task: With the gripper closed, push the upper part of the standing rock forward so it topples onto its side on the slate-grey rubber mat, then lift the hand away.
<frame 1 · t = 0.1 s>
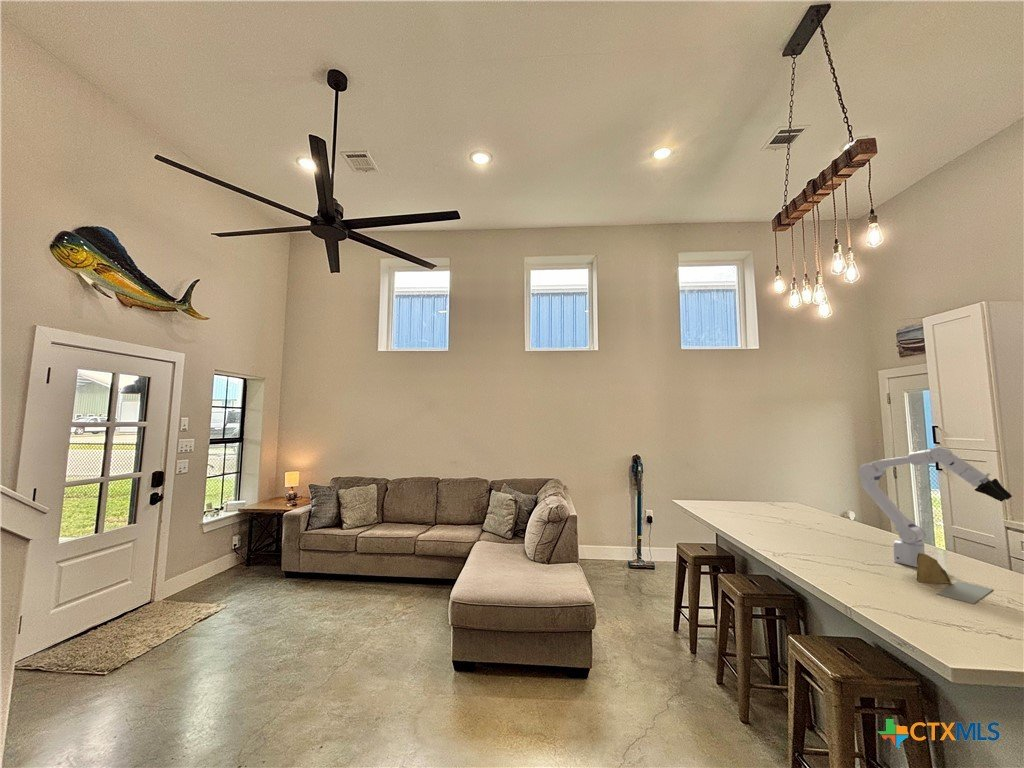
hand: (1007, 499, 158), 32 cm above the table, tool tilted 50°, fingers open, 7 cm apart
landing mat: (965, 592, 151), on the table
rock: (933, 582, 160), on the table
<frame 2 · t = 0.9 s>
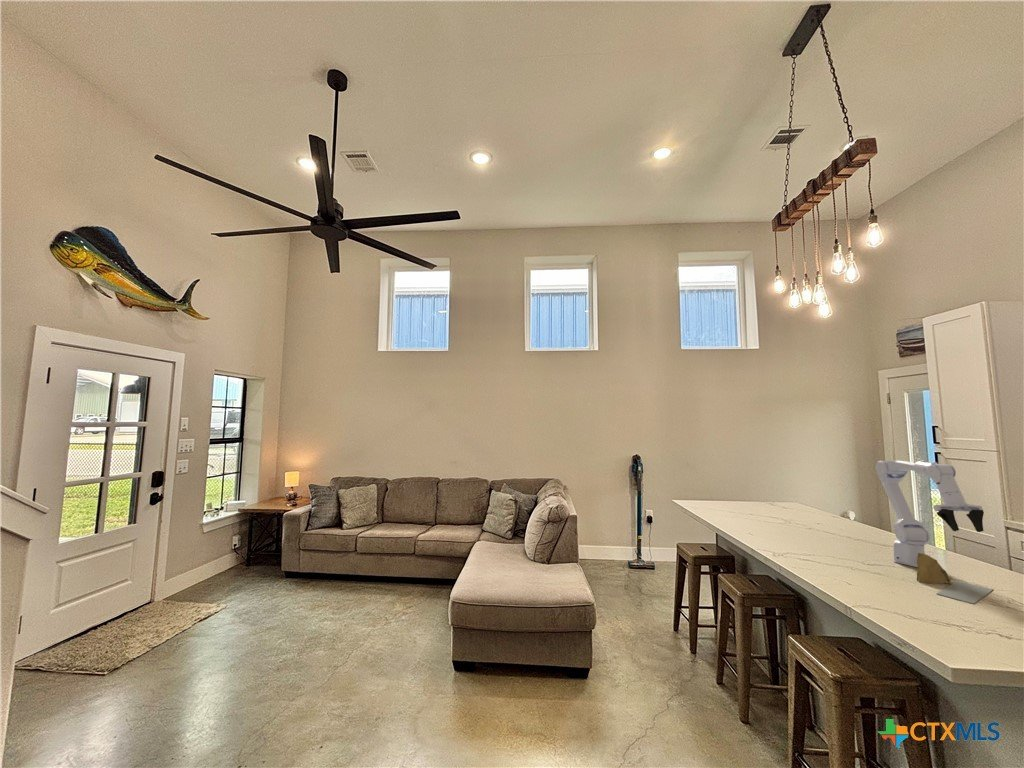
hand: (968, 531, 155), 21 cm above the table, tool tilted 25°, fingers open, 7 cm apart
nothing on the table moved.
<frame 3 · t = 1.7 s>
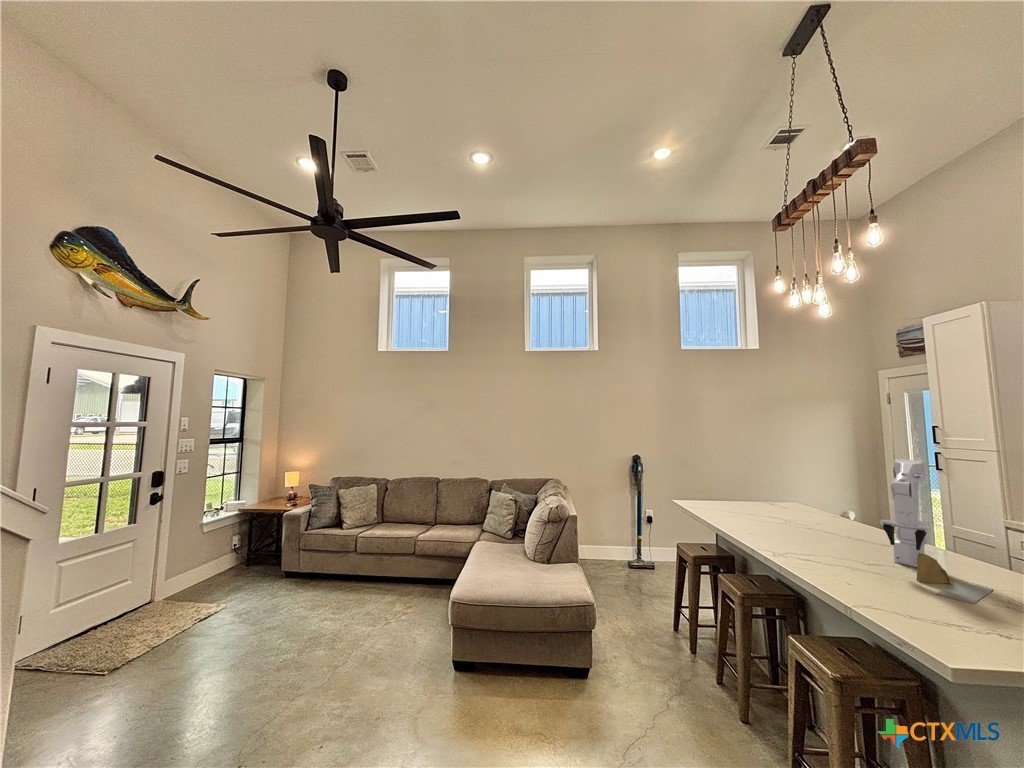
hand: (905, 547, 167), 11 cm above the table, tool pointing down, fingers open, 7 cm apart
nothing on the table moved.
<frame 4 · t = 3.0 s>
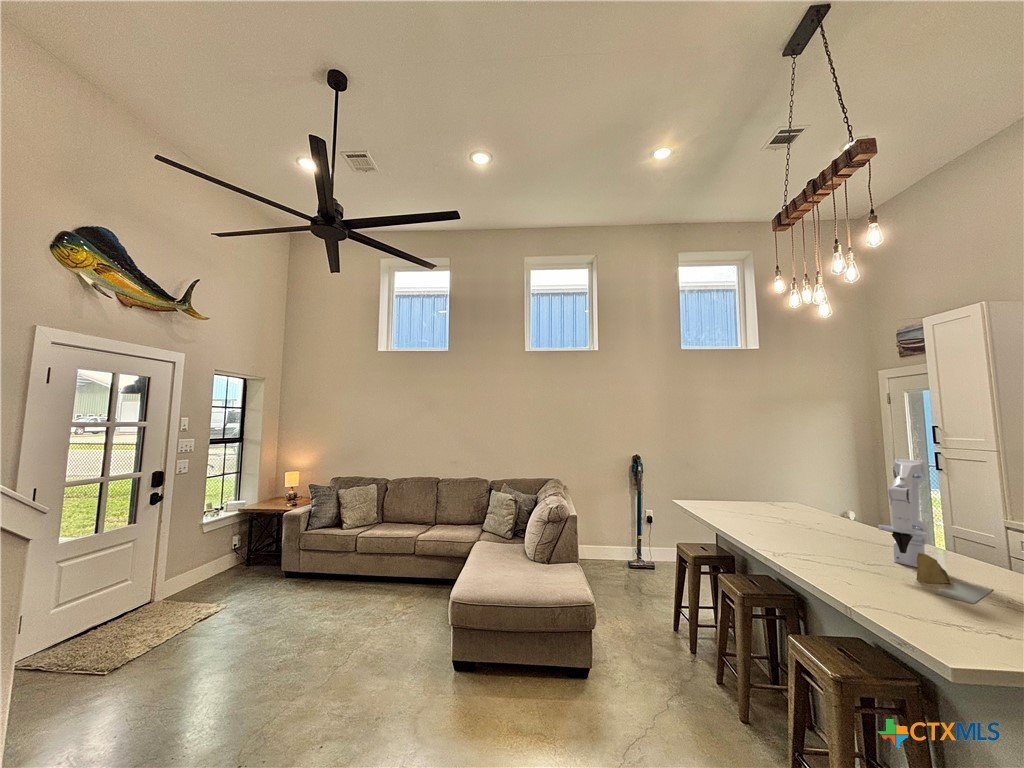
hand: (903, 552, 168), 8 cm above the table, tool pointing down, fingers closed
nothing on the table moved.
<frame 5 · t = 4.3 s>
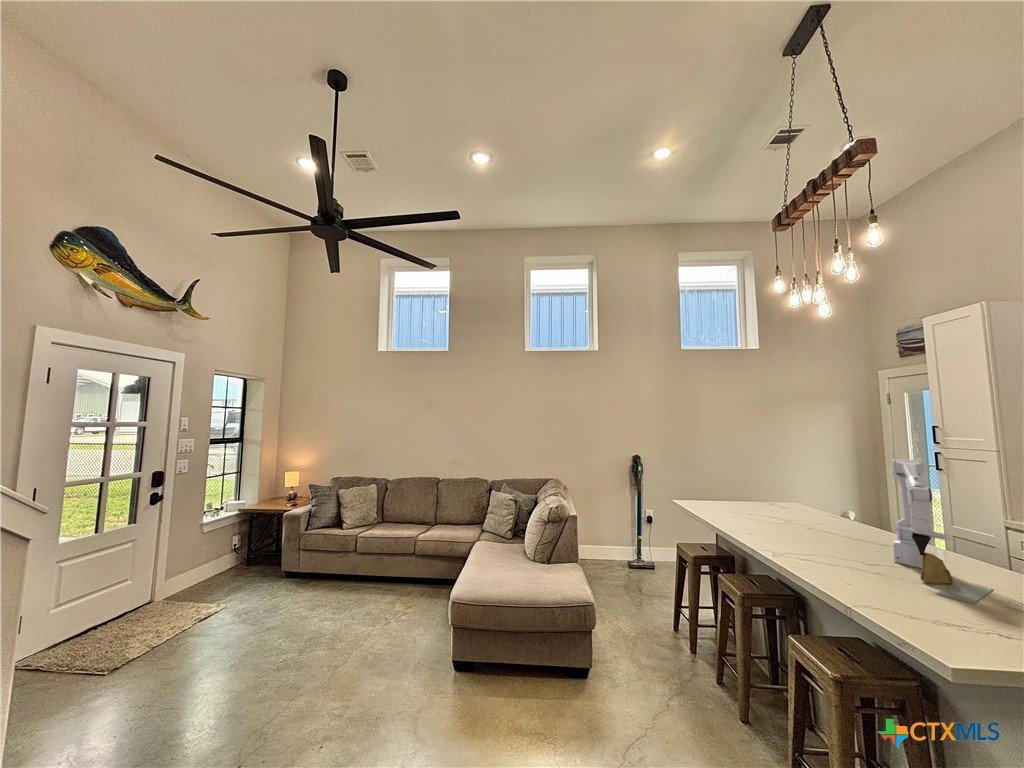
hand: (922, 555, 162), 9 cm above the table, tool pointing down, fingers closed, pressing on rock
rock: (936, 582, 159), on the table, touching gripper, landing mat
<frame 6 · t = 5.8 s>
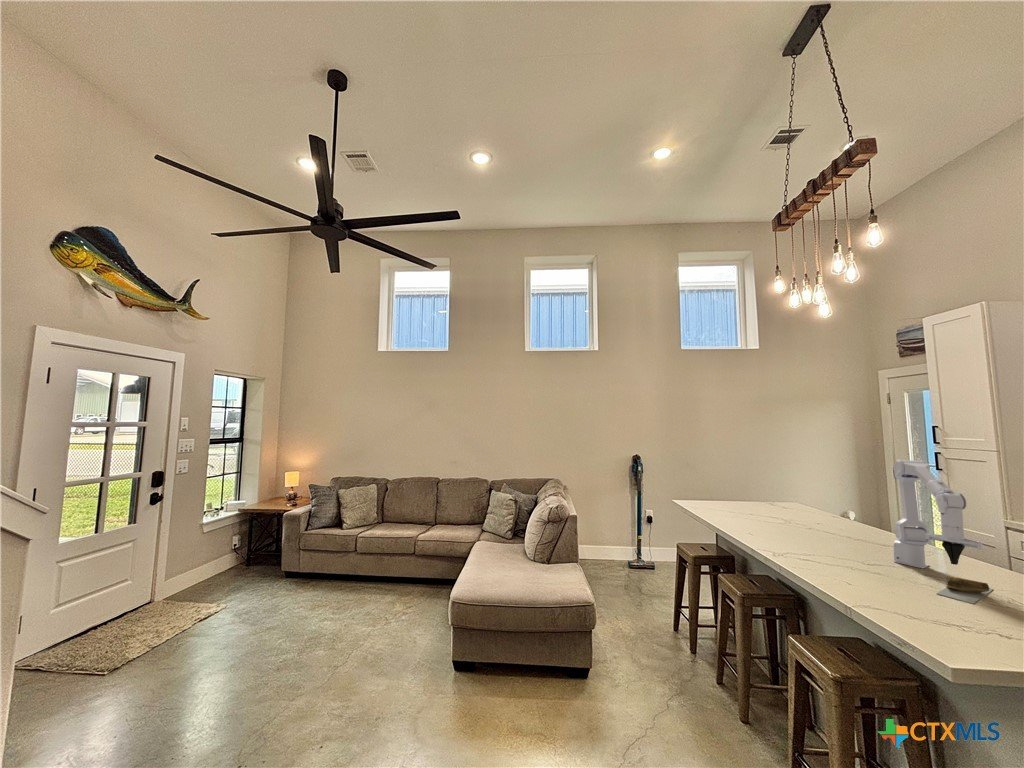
hand: (954, 563, 155), 8 cm above the table, tool pointing down, fingers closed
rock: (947, 580, 155), point 2 cm above the table, touching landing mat
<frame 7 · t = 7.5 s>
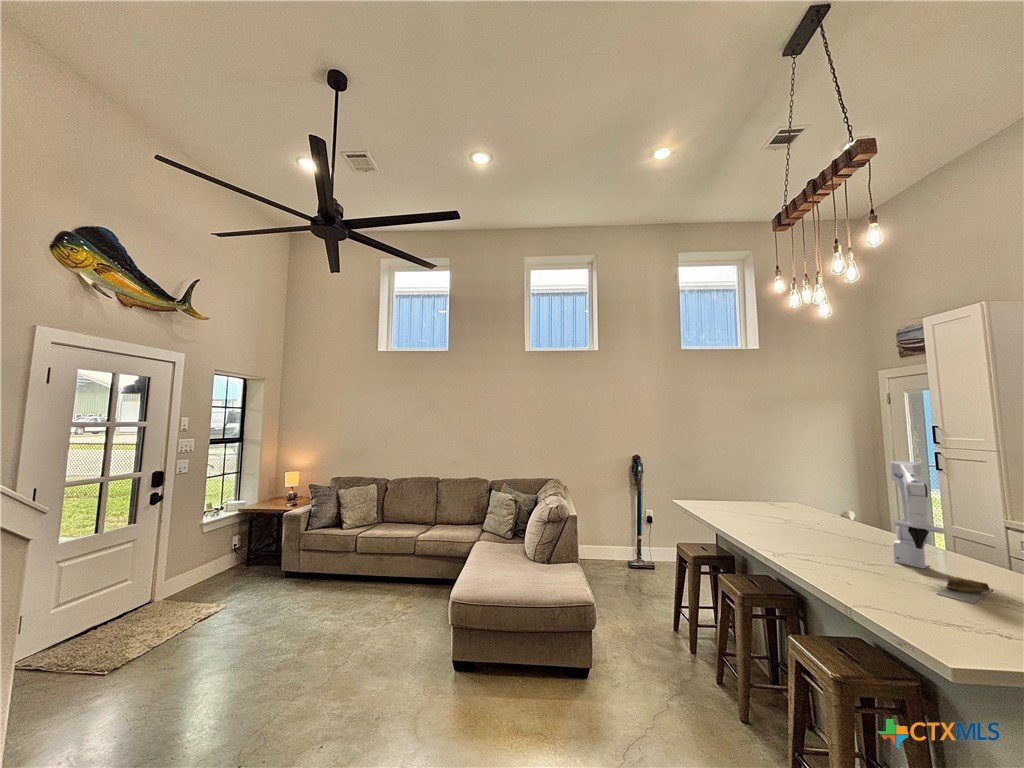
hand: (919, 548, 167), 10 cm above the table, tool pointing down, fingers closed
nothing on the table moved.
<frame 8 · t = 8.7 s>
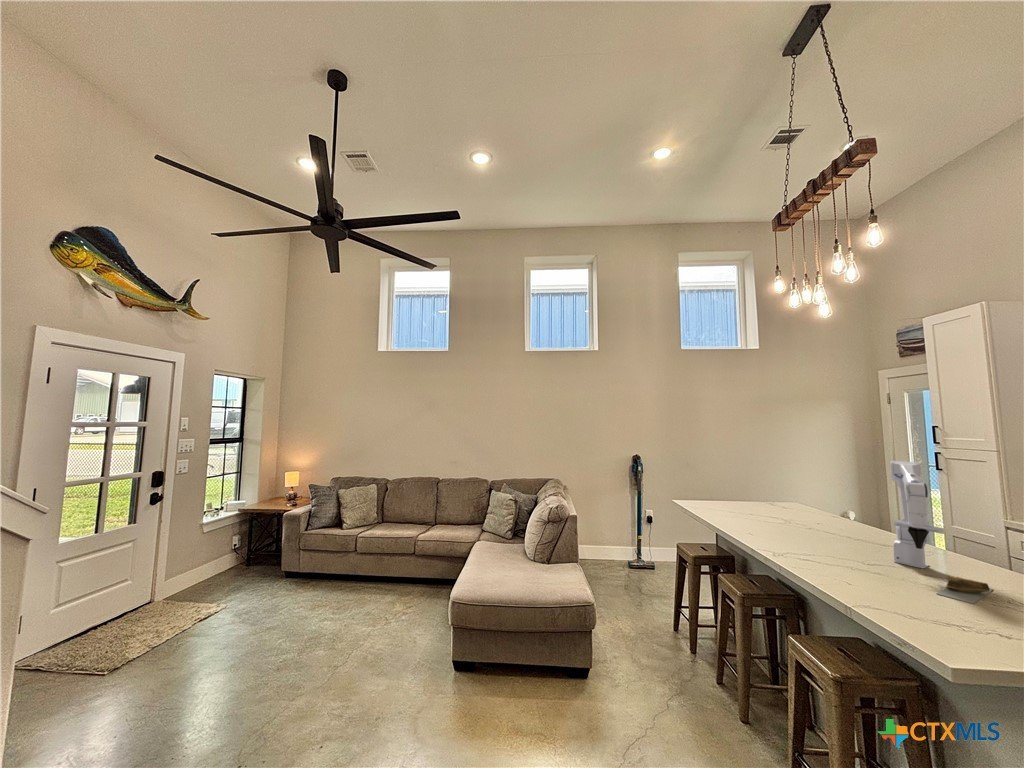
hand: (919, 548, 167), 10 cm above the table, tool pointing down, fingers closed
nothing on the table moved.
at the end: rock tilted 102°; rock 4.7 cm from the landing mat (horizontally); the gripper is holding nothing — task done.
